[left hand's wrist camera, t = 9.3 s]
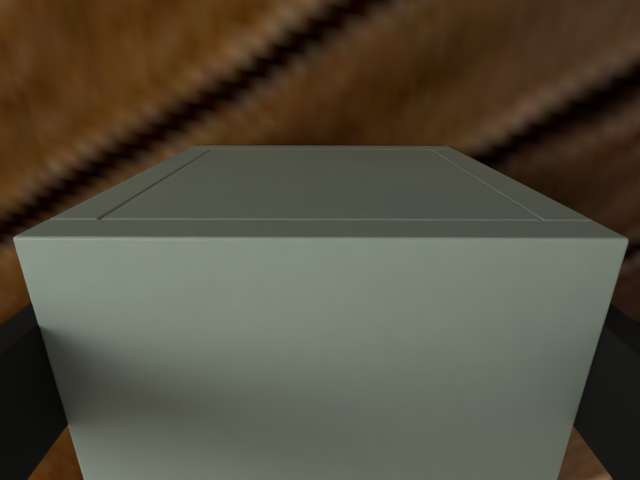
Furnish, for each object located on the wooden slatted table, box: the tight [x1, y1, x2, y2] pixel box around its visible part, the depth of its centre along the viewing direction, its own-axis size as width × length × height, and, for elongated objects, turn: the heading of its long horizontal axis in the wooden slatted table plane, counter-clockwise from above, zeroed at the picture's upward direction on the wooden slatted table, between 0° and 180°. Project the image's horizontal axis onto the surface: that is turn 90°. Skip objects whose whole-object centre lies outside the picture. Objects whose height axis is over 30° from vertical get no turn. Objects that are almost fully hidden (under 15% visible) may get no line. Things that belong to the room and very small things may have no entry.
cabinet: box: [13, 145, 629, 480], centre depth 17 cm, size 20×12×12 cm, turn 0°
